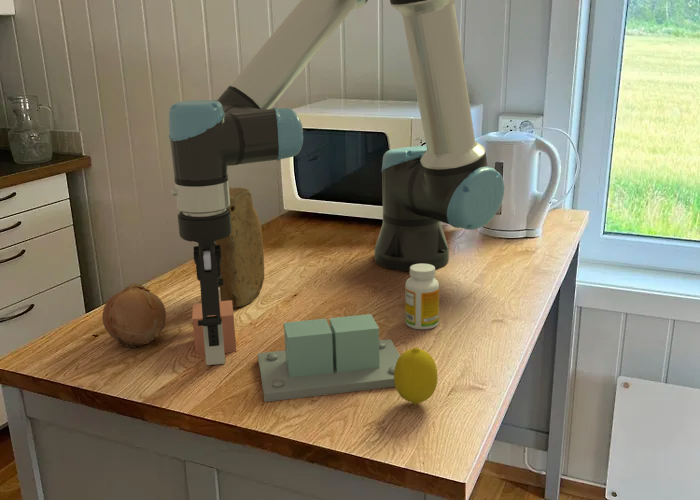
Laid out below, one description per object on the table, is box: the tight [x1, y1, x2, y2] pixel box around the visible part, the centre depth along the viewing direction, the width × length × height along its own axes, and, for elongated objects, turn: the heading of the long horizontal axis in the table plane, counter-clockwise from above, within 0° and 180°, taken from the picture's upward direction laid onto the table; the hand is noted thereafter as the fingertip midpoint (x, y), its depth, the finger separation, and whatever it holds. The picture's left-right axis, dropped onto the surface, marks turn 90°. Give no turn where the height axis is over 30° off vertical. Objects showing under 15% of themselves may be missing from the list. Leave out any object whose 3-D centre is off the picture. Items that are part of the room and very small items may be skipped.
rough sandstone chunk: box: [215, 186, 265, 309], centre depth 124 cm, size 11×8×20 cm
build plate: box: [257, 313, 401, 403], centre depth 99 cm, size 20×12×7 cm, turn 101°
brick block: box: [191, 300, 237, 356], centre depth 109 cm, size 6×6×6 cm
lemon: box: [394, 346, 438, 406], centre depth 90 cm, size 6×6×8 cm
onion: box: [101, 283, 167, 349], centre depth 110 cm, size 10×9×10 cm
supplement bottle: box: [404, 263, 440, 330], centre depth 114 cm, size 5×5×10 cm
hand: (215, 343), depth 110 cm, fingers open, 13 cm apart
